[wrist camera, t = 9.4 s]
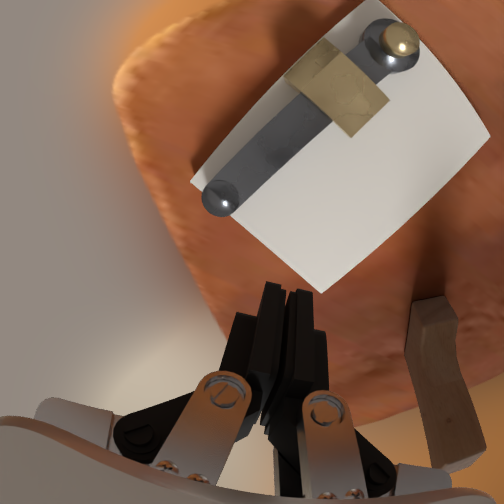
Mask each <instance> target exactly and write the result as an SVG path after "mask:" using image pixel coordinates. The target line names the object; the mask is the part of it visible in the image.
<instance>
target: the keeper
mask: <svg viewBox="0 0 504 504" xmlns="http://www.w3.org/2000/svg"><path fill="white" fill-rule="evenodd" d="M379 44H380V47H381V48H382V50H383V51H384V52H385V53H386V54H387V55H389V56H391V57H393V58H403V57H405V56H408V55H410V54H412V53H415V52H416V51H417V50H418V48H419V46H420V40H419V37H418V34H417V33H416V31H415V30H414V29H413V28H412V27H411V26H409V25H407V24H405V23H402V22H395V23H392V24H391V25H389V26H388V27H387V28H386V29H385V30H383V31H382V32H381V33H380V35H379ZM283 77H284V80H285V82H286V83H287V84H288V85H289V86H290V87H292V88H293V89H294V90H295V91H296V92H298V93H299V94H300V93H302V94H303V95H305V96H306V97H307V98H308V99H309V100H310V101H311V102H312V103H314V104H315V105H316V106H317V107H318V108H319V109H320V110H321V111H322V112H323V113H324V114H325V115H327V116H328V117H329V118H330V119H331V120H332V121H333V122H334V123H335V124H336V125H337V126H338V127H339V128H340V129H341V130H342V131H343V132H344V133H345V134H346V135H347V136H348V137H350V138H352V137H353V136H354V135H355V134H356V133H357V132H358V131H359V130H360V129H361V128H362V127H363V126H364V125H365V124H366V123H367V122H368V121H369V120H370V119H371V118H372V117H373V116H375V115H376V114H377V113H378V112H379V111H380V110H381V109H382V108H383V107H384V106H385V105H386V104H387V103H388V102H389V101H390V99H389V98H388V97H387V96H386V95H385V94H384V93H383V92H382V91H381V90H380V89H379V88H378V86H377V85H376V84H375V83H374V82H373V81H372V80H371V79H370V78H369V77H368V76H367V75H366V74H365V73H364V72H363V71H362V70H361V69H359V68H358V67H357V66H356V65H355V64H354V63H353V62H352V61H351V60H350V59H349V58H348V57H347V56H345V55H344V54H343V53H342V52H341V51H340V50H339V49H337V48H336V47H335V46H334V45H333V44H332V43H330V42H329V41H328V40H327V39H326V38H324V37H323V38H322V39H321V40H320V41H319V42H318V43H317V44H316V45H315V46H314V47H312V48H311V49H310V50H309V51H308V52H307V53H306V54H305V55H304V56H303V57H302V58H301V59H300V60H299V61H298V62H297V63H296V64H295V65H294V66H293V67H292V68H291V69H290V70H289V71H288V72H287V73H286V74H285V75H284V76H283Z"/></svg>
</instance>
